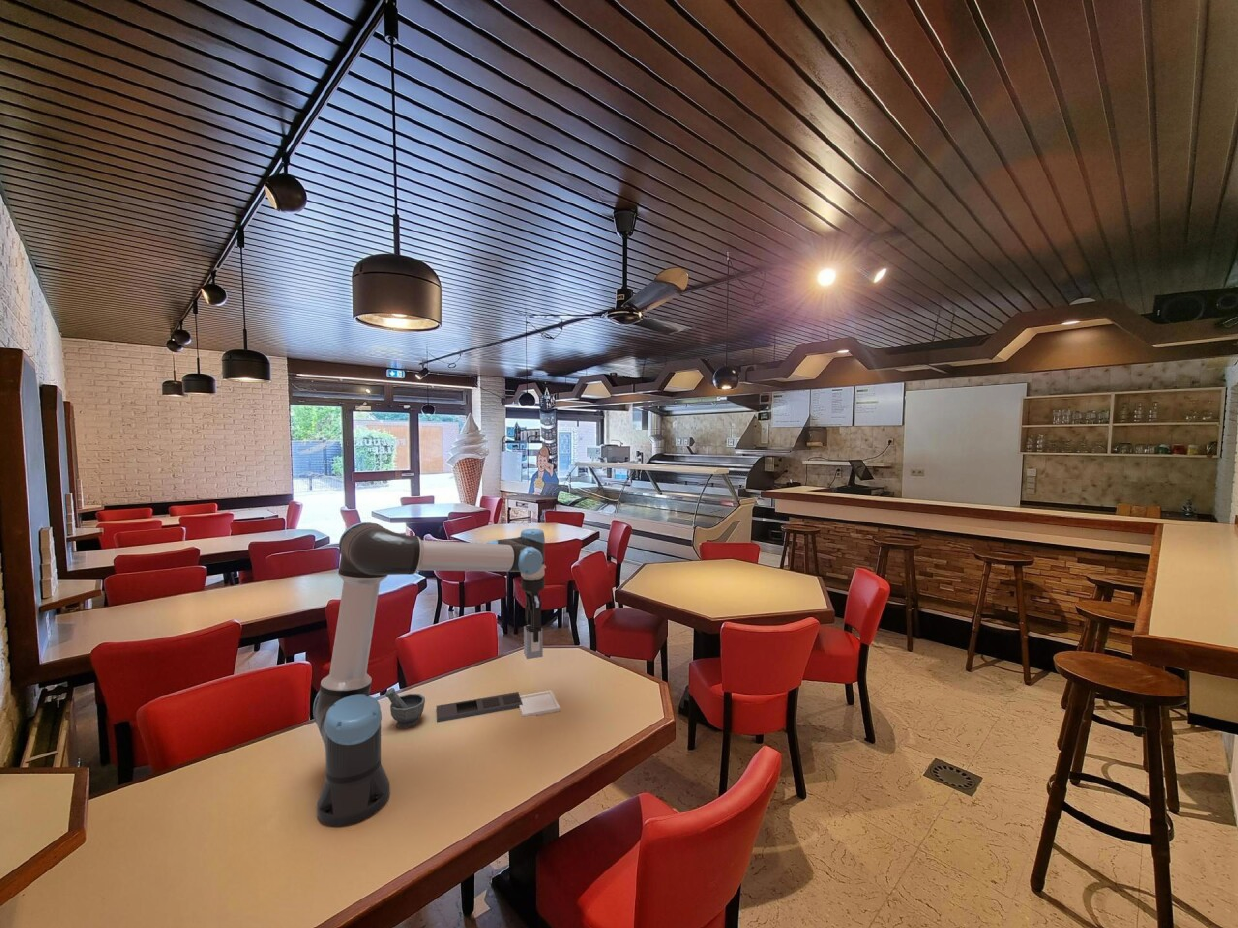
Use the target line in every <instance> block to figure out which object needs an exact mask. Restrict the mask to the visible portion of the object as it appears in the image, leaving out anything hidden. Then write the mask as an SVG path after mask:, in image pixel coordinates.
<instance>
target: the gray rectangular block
mask: <svg viewBox="0 0 1238 928" xmlns="http://www.w3.org/2000/svg"><path fill="white" fill-rule="evenodd" d="M529 630H532V628H531V625H530V626H527V625H524V626H523V652H524V653H523V654H524V656H525V657H526V660H531V659H537V658H543V656H544V655H543V652H544V651H543V650H544V649H543V640H544V639H543V628H542V627H541V631H540V651H534V652H531V633H530V632H529Z"/></svg>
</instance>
